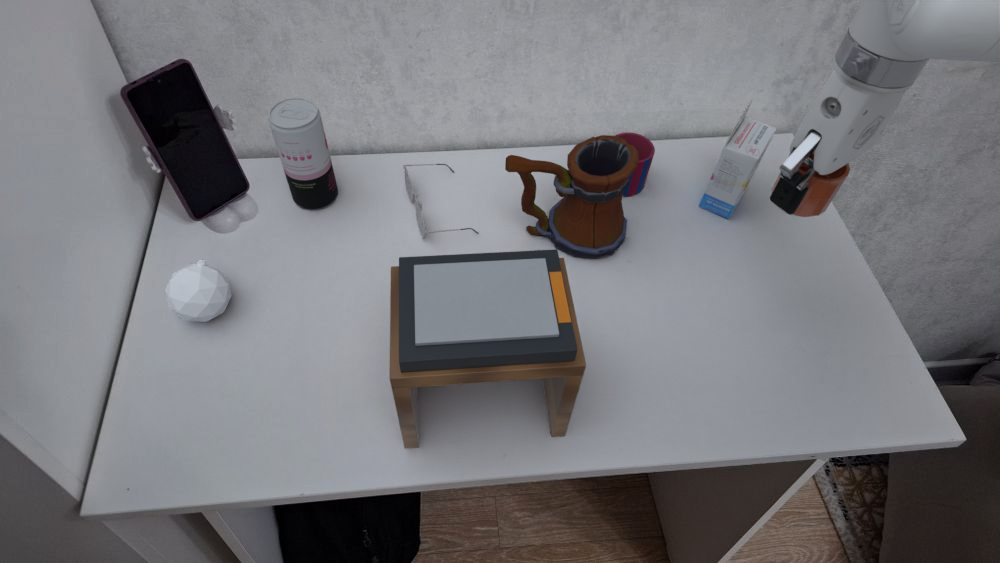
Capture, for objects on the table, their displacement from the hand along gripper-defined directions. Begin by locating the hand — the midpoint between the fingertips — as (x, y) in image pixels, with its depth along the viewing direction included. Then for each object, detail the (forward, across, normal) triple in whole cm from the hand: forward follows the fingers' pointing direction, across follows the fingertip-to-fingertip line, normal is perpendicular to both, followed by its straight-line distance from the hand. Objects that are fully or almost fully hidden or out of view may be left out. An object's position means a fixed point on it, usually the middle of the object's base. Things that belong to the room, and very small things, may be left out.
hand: (801, 193), depth 73 cm
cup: (+16, -4, +25) cm, 30 cm away
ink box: (+16, +8, +13) cm, 22 cm away
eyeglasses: (+16, -29, +35) cm, 48 cm away
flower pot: (+1, 0, 0) cm, 1 cm away
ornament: (+16, -63, +36) cm, 74 cm away
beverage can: (+16, -43, +47) cm, 65 cm away
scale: (0, -41, +7) cm, 41 cm away
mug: (+16, -17, +21) cm, 31 cm away
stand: (+16, -41, +7) cm, 44 cm away
